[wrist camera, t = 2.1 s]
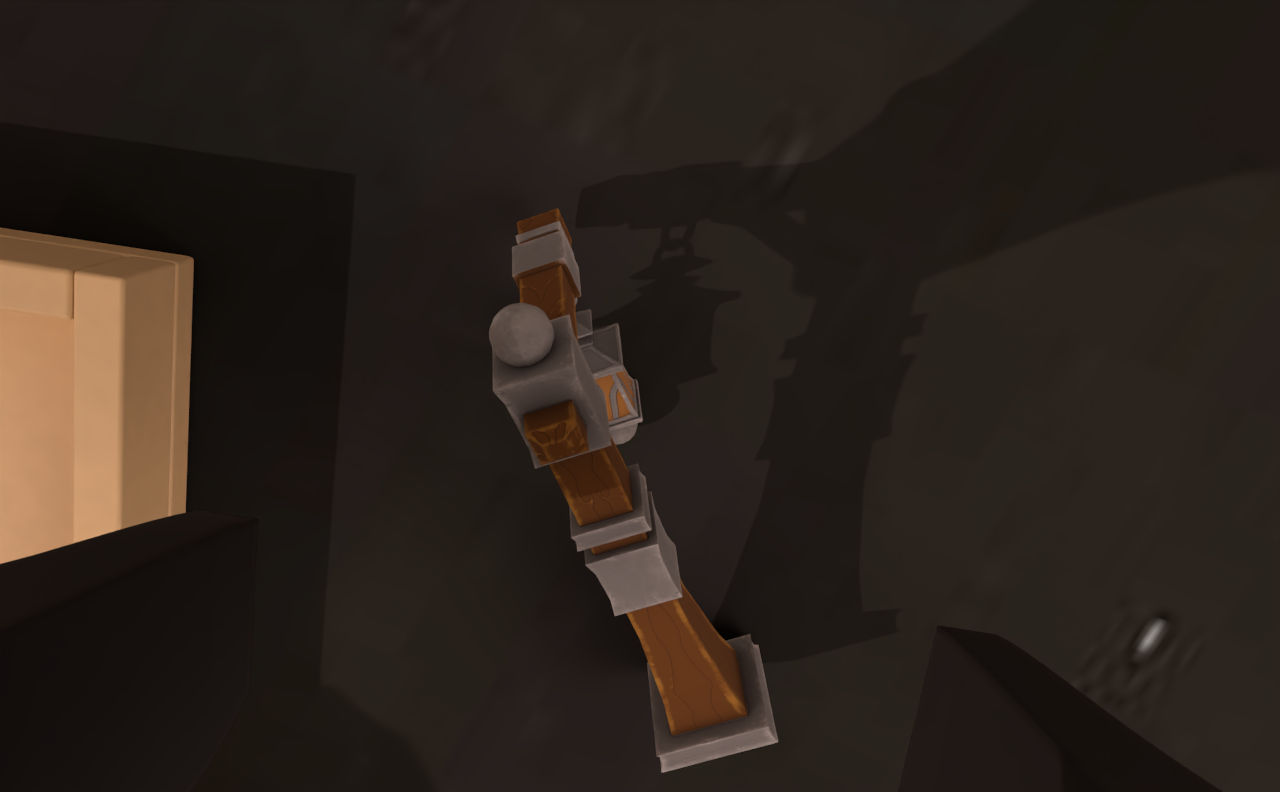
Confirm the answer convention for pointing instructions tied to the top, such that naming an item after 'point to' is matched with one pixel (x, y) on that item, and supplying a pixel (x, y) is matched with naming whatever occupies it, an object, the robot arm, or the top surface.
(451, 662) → the top surface
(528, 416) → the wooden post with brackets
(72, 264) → the tray
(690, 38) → the top surface
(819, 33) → the top surface
